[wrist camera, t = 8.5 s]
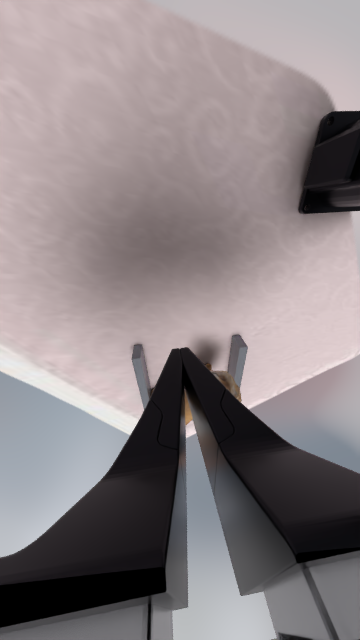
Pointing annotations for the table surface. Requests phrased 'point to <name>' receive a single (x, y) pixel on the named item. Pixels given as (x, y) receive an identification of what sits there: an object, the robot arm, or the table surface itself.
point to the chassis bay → (234, 366)
